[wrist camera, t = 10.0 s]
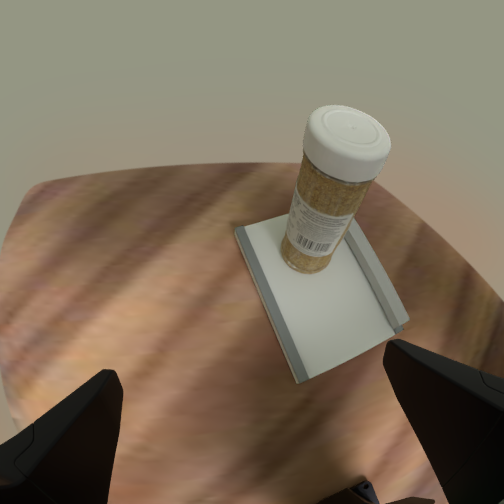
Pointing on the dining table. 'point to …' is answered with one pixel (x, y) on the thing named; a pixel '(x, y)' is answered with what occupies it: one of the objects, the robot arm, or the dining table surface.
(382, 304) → the base
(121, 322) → the dining table surface
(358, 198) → the sprinkles bottle
